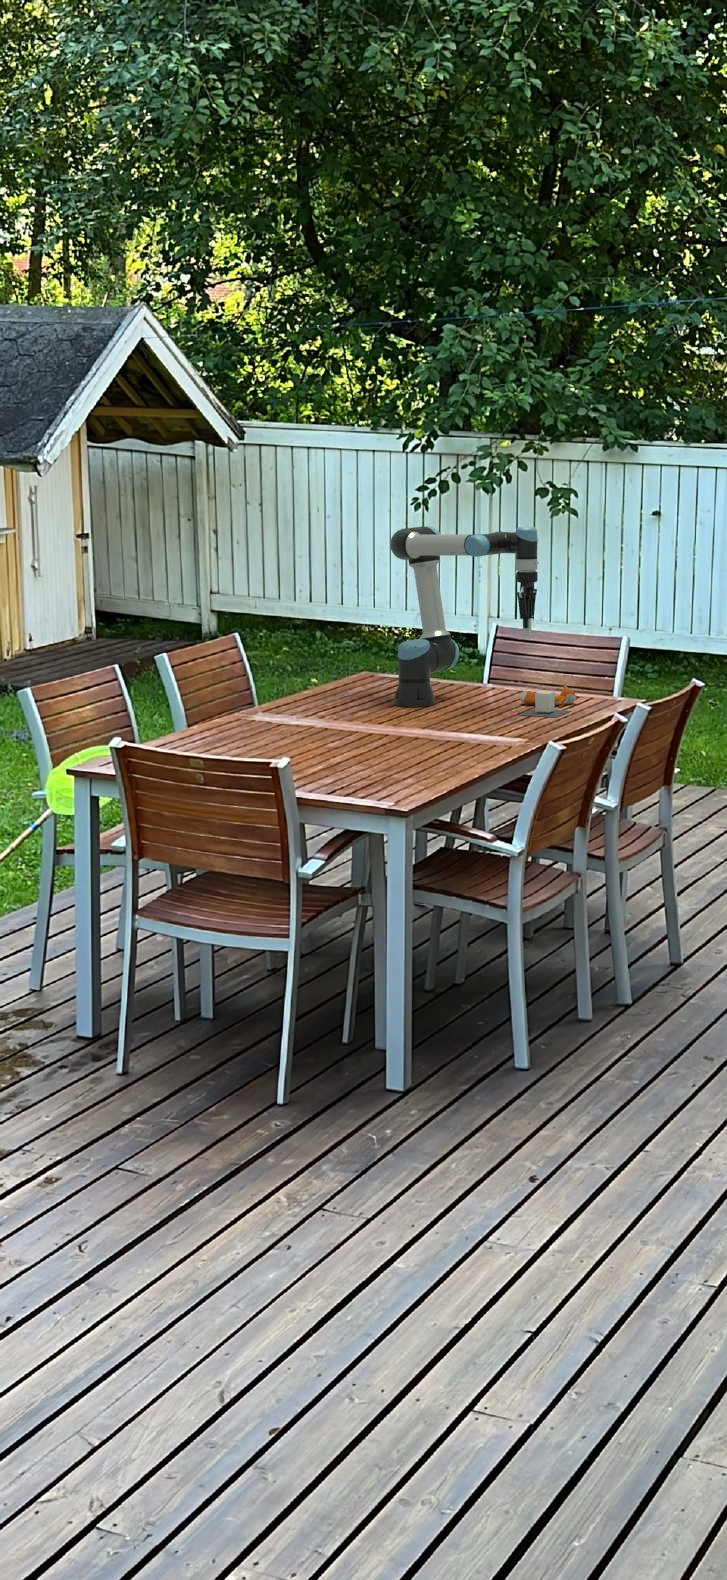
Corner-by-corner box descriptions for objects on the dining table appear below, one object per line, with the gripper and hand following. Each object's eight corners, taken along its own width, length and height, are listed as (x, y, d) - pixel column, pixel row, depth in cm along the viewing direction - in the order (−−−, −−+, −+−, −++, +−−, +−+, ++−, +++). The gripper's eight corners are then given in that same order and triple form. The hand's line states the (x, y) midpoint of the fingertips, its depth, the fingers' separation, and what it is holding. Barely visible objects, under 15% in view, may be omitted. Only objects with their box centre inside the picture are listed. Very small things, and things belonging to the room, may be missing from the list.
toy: (574, 695, 646) (579, 681, 659) (513, 694, 651) (518, 680, 664) (575, 716, 649) (579, 702, 662) (513, 715, 654) (519, 701, 667)
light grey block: (535, 711, 637) (535, 693, 636) (541, 709, 642) (541, 690, 641) (548, 712, 635) (548, 693, 634) (554, 710, 640) (554, 691, 638)
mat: (519, 715, 636) (519, 714, 636) (534, 709, 648) (534, 708, 648) (555, 717, 629) (555, 717, 629) (570, 711, 641) (570, 710, 641)
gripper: (529, 572, 629) (529, 639, 634) (543, 569, 641) (543, 635, 645) (509, 572, 633) (510, 638, 638) (524, 568, 644) (524, 634, 649)
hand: (527, 636), depth 642 cm, fingers closed
